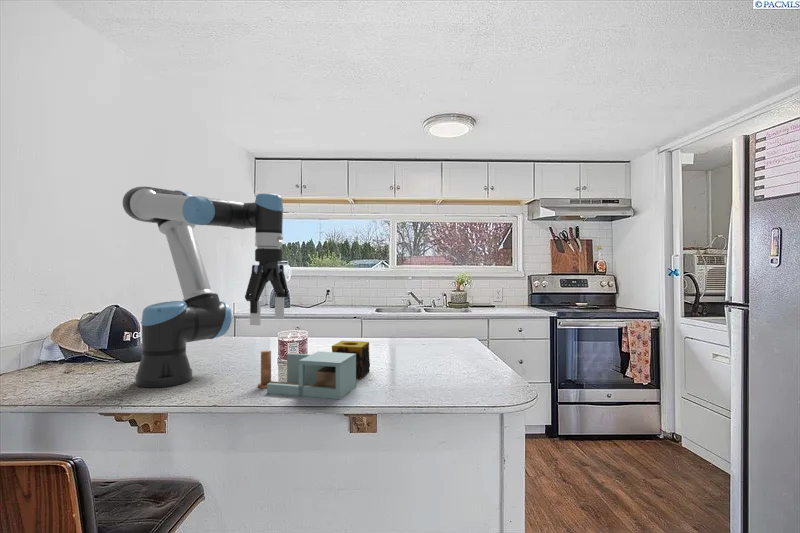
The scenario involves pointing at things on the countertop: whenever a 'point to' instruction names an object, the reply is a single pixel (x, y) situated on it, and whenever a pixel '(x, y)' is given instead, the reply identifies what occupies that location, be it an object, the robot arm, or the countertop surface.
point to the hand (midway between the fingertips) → (267, 321)
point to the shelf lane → (304, 372)
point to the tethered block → (323, 379)
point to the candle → (361, 355)
